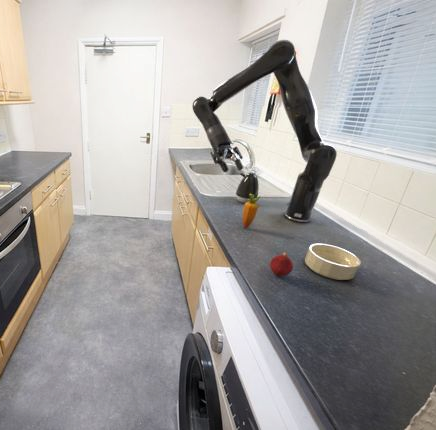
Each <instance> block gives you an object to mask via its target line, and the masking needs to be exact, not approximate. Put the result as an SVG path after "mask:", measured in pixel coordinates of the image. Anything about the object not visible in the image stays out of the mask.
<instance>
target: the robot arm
mask: <svg viewBox="0 0 436 430" xmlns="http://www.w3.org/2000/svg"><path fill="white" fill-rule="evenodd" d="M271 74H273V75H274V77H275V79H276V81H277V84H278V87H279V92H280V98H281V102H282V105H283V109H284V111H285V114H286V116H287V118H288V120H289V123H290V125H291V128H292V129H293V132H294V133H295V136H296V138H297V141H298V145H299V149H300V153H301V157H302V159H303V161H304V162H305V163H306V166H305V168H304V170H303V171H302V172H299V174H298V175H297V178H296V181H295V183H294V187H293V190H292V193H291V196H290V199H289V201H288V205H287V208H286V211H285V213H284V217H285V218H286V219H288V220H290V221H292V222H297V223H309V222H310V220H311V217H312V214H313V211H314V208H315V206H316V203H317V201H318V198H319V196H320V193H321V190H322V189H323V185H324V182H325V181H326V179H327V178H328V177H329V176H330V173H331V172H332V169H333V167H334V164H335V162H336V159H337V155H338V152H337V148H335V146H333V145H331V144H329V143H325V141H324V140H323V138H322V136H321V134H320V132H319V128H318V109H317V105H316V103H315V99H314V97H313V94H312V92H311V90H310V87H309V86H308V84H307V82H306V80H305V78H304V77H303V75H302V74H301V70H300V68H299V64H298V60H297V56H296V47H295V45H294V43H293V42H292V41H291V40H289V39H280V40H277V41H275V42H274V43H272V44H271V45H270V46H269V48H268V49H267V51H265V53H263V54H262V55H261V56H260V57H259V58H258V59H257V60H256V61H255V62H253V63H252V64H250V65H249V66H248V67H246V68H244V69H243V70H242V71H240V72H238V73H236V74H235V75H233V76H231V77H230V78H228V79H227V80H225V81H224V82H222V83H221V84H219V85H218V86H217V87H215V88H214V89H213V90H212V95H211V96H210V97H209V98H207V97H205V96H198V97H195V99H194V100H193V102H192V104H191V105H192V111H193V113H194V115H195V117H196V118H197V120H198V121H199V122H200V123H201V125H202V128H203V130H204V132H205V134H206V137H207V140H208V142H209V143H210V146H211V148H212V150H211V151H210V156H211V158H212V160H213V163H214V164H215V165H217V164H218V166H220V169H221V170H222V172H223V173H227V172H229V170H230V169H229V166H228V164H227V162H226V160H229V161H232V162H234V164H235V166H236V169H237V171H242V170H243V169H244V165H243V163H242V161H241V160H242V159H244V157H243V155H242V152H241V151H240V149H239V147H238V146H234V147H232V146H231V144H232V141H231V138H230V136H229V134H228V132H227V131H226V129H225V127H224V125H223V124H222V122H221V120H220V118H219V117H218V115H217V114H216V113H215V112H216V111H217V110H218V109H219V108H220V107H221V106H222V105H223V104H224V103H226V102H227V101H229V100H230V99H232V98H234V97H236V96H237V95H238V94H240V93H241V92H243V91H244V90H245V89H247V88H248V87H250V86H251V85H253V84H254V83H256V82H258V81H260V80H261V79H263V78H265V77H267V76H269V75H271Z"/></svg>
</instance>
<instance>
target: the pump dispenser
mask: <svg viewBox="0 0 436 430" xmlns="http://www.w3.org/2000/svg"><path fill="white" fill-rule="evenodd" d="M239 175H240V176H241V177H243V178H241V180H240V182H239V184H238V186H237V188H236V190H235V196H236V200H237V201H238V202H240V203H242V204H245V203H246V202H250V201H249V200H248V199H250V196H249V194H252V195H254V198H255V199H256V198H257V197H258V196H259V192H260V191H259V189H260V186H259V185H260V184H259V183H260V182H259V179H258V176H257V174H256V173H254V172H248V173H247V174H245V173H243V172H240V173H239ZM252 199H253V198H252ZM255 199H254V200H255Z"/></svg>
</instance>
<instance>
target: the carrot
mask: <svg viewBox="0 0 436 430" xmlns="http://www.w3.org/2000/svg"><path fill="white" fill-rule="evenodd" d="M249 196H250V199H248V200H249V201H250V202H246V203H244V205H243V212H242V224H243V228H244V229H248V228H249V227H250V226H251V225H252V223H253V222H254V220H255V218H256V216H257V212H258V209H259V205H258V203H256V202H257V201H258V200H259V199H261V196H260V195H258V197H257V198H256V199H255V198H254V195H252V194H249ZM252 198H253V199H252ZM254 199H255V200H254Z"/></svg>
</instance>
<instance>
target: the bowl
mask: <svg viewBox="0 0 436 430" xmlns="http://www.w3.org/2000/svg"><path fill="white" fill-rule="evenodd" d="M304 263H305V264H306V266H308V268H309V269H310V270H312V271H313V272H314V273H316V274H318V275H320V276H322V277H325V278H327V279H331V280H337V281H345V280H346V281H347V280H348V281H349V280H352V279H354V277H355V275H356V273H357V272H358V270H359V268H360V266H361V264H362V262H361V259H360V258H359V257H358V256H356V255H355V254H354V253H352V252H350V251H348V250H346V249H344V248H342V247H339V246H335V245H331V244H327V243H313V244H310V245H309V247H308V249H307V252H306V254H305V257H304Z"/></svg>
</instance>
